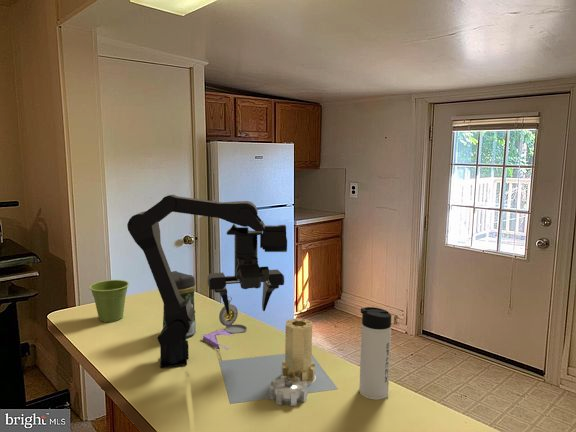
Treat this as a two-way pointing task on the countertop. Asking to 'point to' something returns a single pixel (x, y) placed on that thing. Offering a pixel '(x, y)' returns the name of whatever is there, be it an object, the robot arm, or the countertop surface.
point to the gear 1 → (298, 350)
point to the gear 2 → (288, 391)
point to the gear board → (263, 377)
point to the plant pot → (110, 299)
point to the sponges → (213, 340)
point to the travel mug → (375, 353)
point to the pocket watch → (231, 320)
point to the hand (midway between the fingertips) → (245, 312)
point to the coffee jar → (185, 294)
